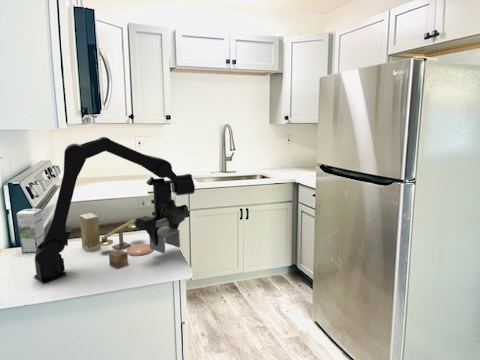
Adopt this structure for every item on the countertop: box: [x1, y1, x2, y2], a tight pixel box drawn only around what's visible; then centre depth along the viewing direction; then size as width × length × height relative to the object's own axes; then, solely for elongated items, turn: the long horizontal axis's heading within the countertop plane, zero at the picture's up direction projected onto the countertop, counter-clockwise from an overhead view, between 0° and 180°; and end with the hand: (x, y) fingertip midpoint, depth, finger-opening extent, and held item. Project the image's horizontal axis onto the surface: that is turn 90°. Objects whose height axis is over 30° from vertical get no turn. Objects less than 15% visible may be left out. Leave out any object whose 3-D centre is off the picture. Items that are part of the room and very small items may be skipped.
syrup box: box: [16, 208, 45, 254], centre depth 121 cm, size 6×6×14 cm
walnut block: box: [108, 250, 129, 269], centre depth 109 cm, size 4×4×4 cm
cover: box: [148, 225, 181, 254], centre depth 116 cm, size 7×7×6 cm
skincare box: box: [79, 212, 101, 253], centre depth 122 cm, size 6×4×12 cm
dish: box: [126, 243, 154, 257], centre depth 120 cm, size 9×9×1 cm
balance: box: [99, 218, 138, 251], centre depth 123 cm, size 16×4×9 cm, turn 142°
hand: (164, 242), depth 116 cm, fingers closed on cover, 7 cm apart
